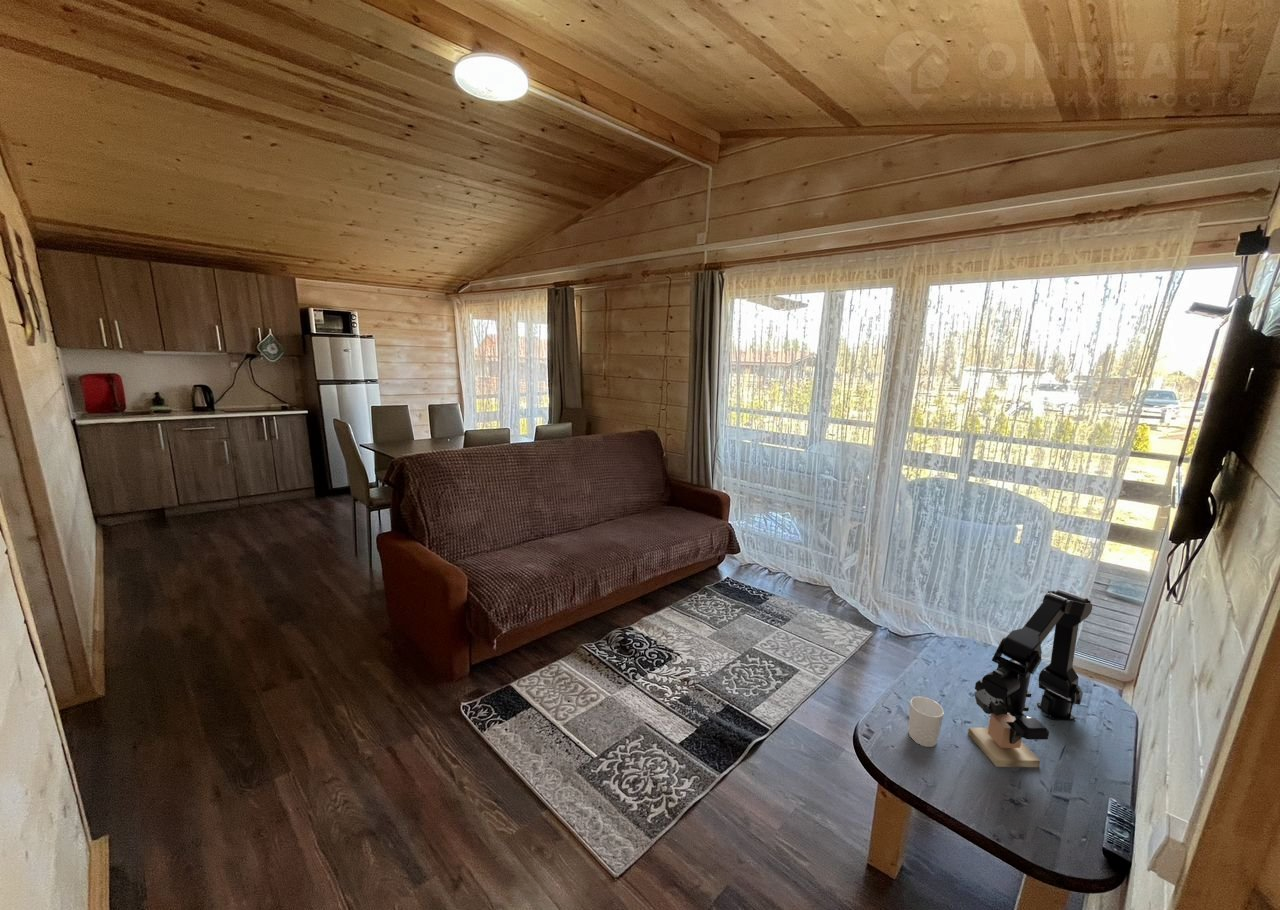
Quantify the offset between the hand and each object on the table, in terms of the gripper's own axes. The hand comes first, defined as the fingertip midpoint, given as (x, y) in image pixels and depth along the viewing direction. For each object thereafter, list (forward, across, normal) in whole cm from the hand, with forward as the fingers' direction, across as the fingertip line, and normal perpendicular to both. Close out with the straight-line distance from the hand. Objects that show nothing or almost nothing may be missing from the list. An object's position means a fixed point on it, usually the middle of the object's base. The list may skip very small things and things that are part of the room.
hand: (1004, 735), depth 128 cm
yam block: (+2, 0, 0) cm, 2 cm away
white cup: (+5, -4, -19) cm, 20 cm away
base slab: (+4, 0, 0) cm, 4 cm away
